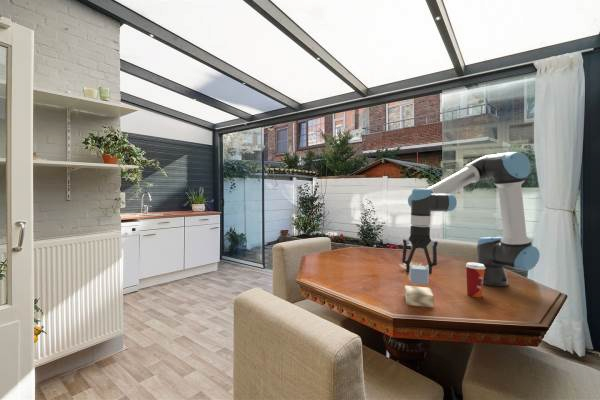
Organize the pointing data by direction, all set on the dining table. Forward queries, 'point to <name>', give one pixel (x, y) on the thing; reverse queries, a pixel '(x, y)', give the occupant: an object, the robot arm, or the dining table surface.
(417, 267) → the slate cube
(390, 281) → the dining table surface
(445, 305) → the dining table surface
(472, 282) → the paper cup
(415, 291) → the maple block
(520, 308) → the dining table surface
